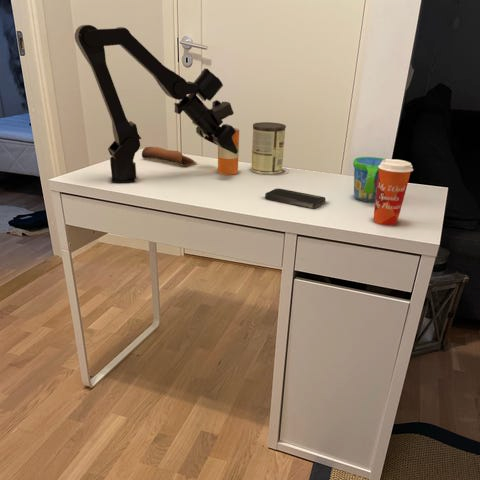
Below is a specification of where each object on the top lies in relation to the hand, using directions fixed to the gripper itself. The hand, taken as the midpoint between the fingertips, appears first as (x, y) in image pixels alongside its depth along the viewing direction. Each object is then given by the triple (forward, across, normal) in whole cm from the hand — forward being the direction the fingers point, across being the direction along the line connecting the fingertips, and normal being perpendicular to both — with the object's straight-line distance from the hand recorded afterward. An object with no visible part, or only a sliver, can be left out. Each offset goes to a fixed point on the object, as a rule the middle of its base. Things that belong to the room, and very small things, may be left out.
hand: (232, 150), depth 152 cm
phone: (+7, -34, +2) cm, 35 cm away
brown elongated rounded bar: (-5, +19, +15) cm, 25 cm away
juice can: (+4, 0, +6) cm, 7 cm away
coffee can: (+13, -2, -3) cm, 14 cm away
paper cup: (+16, -56, -6) cm, 59 cm away
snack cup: (+22, -38, -12) cm, 46 cm away
